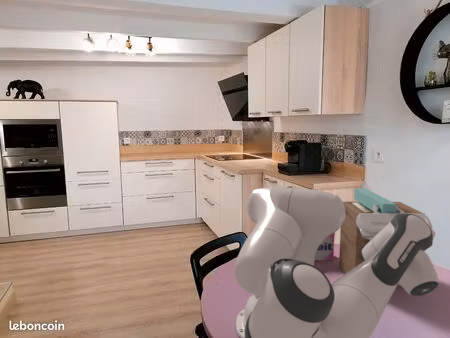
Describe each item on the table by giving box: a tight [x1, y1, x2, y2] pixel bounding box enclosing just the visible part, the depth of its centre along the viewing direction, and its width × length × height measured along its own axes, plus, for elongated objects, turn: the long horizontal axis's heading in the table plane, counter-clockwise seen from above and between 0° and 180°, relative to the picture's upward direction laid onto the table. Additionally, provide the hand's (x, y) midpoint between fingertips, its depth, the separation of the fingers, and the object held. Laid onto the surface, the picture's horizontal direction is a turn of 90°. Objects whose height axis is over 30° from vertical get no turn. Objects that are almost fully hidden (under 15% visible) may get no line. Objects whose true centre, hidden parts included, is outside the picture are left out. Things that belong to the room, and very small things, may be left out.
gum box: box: [315, 232, 336, 261], centre depth 143 cm, size 24×8×14 cm, turn 88°
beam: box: [353, 188, 397, 213], centre depth 116 cm, size 4×26×4 cm, turn 177°
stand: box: [338, 201, 426, 289], centre depth 124 cm, size 22×18×26 cm
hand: (384, 206), depth 107 cm, fingers closed on beam, 4 cm apart
